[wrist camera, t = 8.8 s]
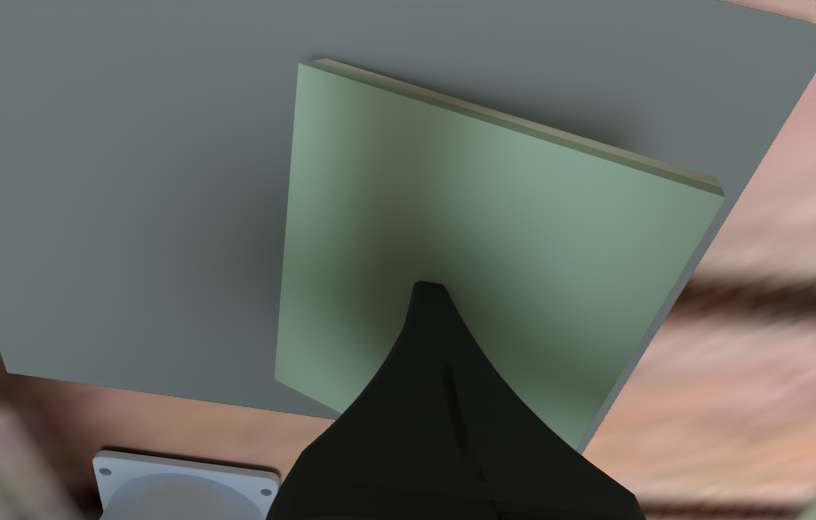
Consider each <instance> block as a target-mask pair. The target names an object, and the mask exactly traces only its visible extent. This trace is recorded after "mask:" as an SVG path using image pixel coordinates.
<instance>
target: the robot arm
mask: <svg viewBox="0 0 816 520" xmlns="http://www.w3.org/2000/svg"><path fill="white" fill-rule="evenodd" d="M93 466H94V471H95V475H96V480H97V484H98V489H99V493H100V497H101V502H102V506H103V511H104V512H103V514H102V516H101V518H100V519H99V520H646V518H645V516H644V514H643V512H642V509H641V507H640V505H639V503H638V501H637V499H636V497H635V495H634V494H633V493H631V492H630V491H629V490H627V489H626V488H625V487H623V486H622V485H620V484H619V483H618V482H616V481H615V480H614V479H612V478H611V477H609V476H608V475H607V474H605V473H604V472H603V471H601V470H600V469H598V468H597V467H596V466H594V465H593V464H592V463H590V462H589V461H588V460H587V459H585V458H584V457H583V456H582V455H581V454H579V453H578V452H577V451H576V450H575V449H573V448H572V447H571V446H570V445H568V444H567V443H566V442H565V441H564V440H563V439H561V438H560V437H559V436H558V435H557V434H556V433H555V432H554V431H553V430H551V429H550V428H549V427H548V426H547V425H546V424H545V423H544V422H543V421H542V420H541V419H540V418H539V417H538V416H537V415H536V414H535V413H534V412H533V411H532V410H531V409H530V408H529V407H528V406H527V405H526V404H525V403H524V402H523V401H522V400H521V399H520V398H519V397H518V395H517V394H516V393H515V392H514V391H513V390H512V389H511V387H510V386H509V385H508V384H507V383H506V382H505V380H504V379H503V378H502V377H501V376H500V374H499V373H498V372H497V371H496V369H495V368H494V367H493V365H492V364H491V362H490V361H489V360H488V358H487V357H486V355H485V354H484V353H483V351H482V350H481V348H480V347H479V345H478V344H477V342H476V340H475V339H474V337H473V336H472V334H471V332H470V331H469V329H468V328H467V326H466V324H465V323H464V321H463V319H462V317H461V316H460V314H459V312H458V310H457V308H456V307H455V305H454V303H453V301H452V299H451V297H450V295H449V293H448V291H447V290H446V288H445V287H444V285H442V284H437V283H431V282H425V281H418V282H416V283H414V287H413V291H412V295H411V299H410V303H409V307H408V311H407V315H406V319H405V323H404V326H403V329H402V331H401V333H400V335H399V336H398V338H397V340H396V342H395V344H394V346H393V348H392V349H391V351H390V353H389V354H388V356H387V358H386V359H385V361H384V362H383V364H382V365H381V367H380V368H379V370H378V371H377V373H376V374H375V375H374V377H373V378H372V379H371V381H370V382H369V383H368V385H367V386H366V387H365V389H364V390H363V391H362V392H361V394H360V395H359V396H358V397H357V398H356V400H355V401H354V402H353V403H352V404H351V405H350V406H349V407H348V408H347V409H346V410H345V411H344V413H343V414H342V415H341V416H340V417H339V418H338V419H337V420H336V421H335V422H334V423H333V424H332V425H331V426H330V427H329V428H328V429H327V430H326V431H325V432H324V433H322V434H321V435H320V436H319V437H318V438H317V439H316V440H315V441H313V442H312V443H311V444H310V445H309V446H308V447H307V448H306V449H304V450H303V451H302V453H301V455H300V456H299V458H298V459H297V461H296V463H295V464H294V466H293V467H292V469H291V470H290V472H289V474H288V475H287V477H286V479H285V480H284V482H283V484H282V485H281V487H280V489H279V483H280V479H279V477H278V476H277V475H276V474H275V473H272V472H267V471H260V470H252V469H244V468H237V467H229V466H222V465H214V464H207V463H199V462H192V461H184V460H177V459H169V458H161V457H154V456H146V455H139V454H131V453H124V452H116V451H109V450H103V451H99V452H98V453H97V454H96V455H95V457H94V459H93Z"/></svg>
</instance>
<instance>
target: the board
mask: <svg viewBox="0 0 816 520" xmlns="http://www.w3.org/2000/svg"><path fill="white" fill-rule="evenodd" d="M326 58H327V59H330V60H334V61H337V62H340V63H343V64H347V65H350V66H353V67H356V68H360V69H363V70H366V71H369V72H373V73H376V74H379V75H382V76H386V77H389V78H392V79H395V80H399V81H402V82H405V83H408V84H412V85H415V86H418V87H421V88H425V89H428V90H431V91H434V92H438V93H441V94H444V95H447V96H451V97H454V98H457V99H460V100H464V101H467V102H470V103H473V104H477V105H480V106H483V107H486V108H490V109H493V110H496V111H499V112H503V113H506V114H509V115H512V116H516V117H519V118H522V119H525V120H529V121H532V122H535V123H538V124H542V125H545V126H548V127H551V128H555V129H558V130H561V131H564V132H568V133H571V134H574V135H578V136H581V137H584V138H587V139H591V140H594V141H597V142H600V143H604V144H607V145H610V146H613V147H617V148H620V149H623V150H626V151H630V152H633V153H636V154H639V155H643V156H646V157H649V158H652V159H656V160H659V161H662V162H665V163H669V164H672V165H675V166H678V167H682V168H685V169H688V170H691V171H695V172H698V173H701V174H704V175H708V176H711V177H714V178H717V179H718V181H719V184H720V186H721V188H722V190H723V192H724V195H725V197H726V198H725V200H724V202H723V203H722V205H721V207H720V208H719V210H718V212H717V213H716V215H715V217H714V218H713V220H712V222H711V223H710V225H709V227H708V228H707V230H706V232H705V234H704V235H703V237H702V239H701V240H700V242H699V244H698V245H697V247H696V249H695V250H694V252H693V254H692V255H691V257H690V259H689V260H688V262H687V264H686V265H685V267H684V269H683V270H682V272H681V274H680V275H679V277H678V279H677V280H676V282H675V284H674V286H673V287H672V289H671V291H670V292H669V294H668V296H667V297H666V299H665V301H664V302H663V304H662V306H661V307H660V309H659V311H658V312H657V314H656V316H655V317H654V319H653V321H652V322H651V324H650V326H649V327H648V329H647V331H646V332H645V334H644V336H643V338H642V339H641V341H640V343H639V344H638V346H637V348H636V349H635V351H634V353H633V354H632V356H631V358H630V359H629V361H628V363H627V364H626V366H625V368H624V369H623V371H622V373H621V374H620V376H619V378H618V379H617V381H616V383H615V384H614V386H613V388H612V390H611V391H610V393H609V395H608V396H607V398H606V400H605V401H604V403H603V405H602V406H601V408H600V410H599V411H598V413H597V415H596V416H595V418H594V420H593V421H592V423H591V425H590V426H589V428H588V430H587V431H586V433H585V435H584V436H583V438H582V440H581V442H580V443H579V445H578V447H577V448H576V451H577V452H578V453H579V454H581V455H582V453H583V452H584V450H585V449H586V447H587V445H588V444H589V442H590V440H591V439H592V437H593V436H594V434H595V432H596V431H597V429H598V427H599V426H600V424H601V422H602V421H603V419H604V418H605V416H606V414H607V413H608V411H609V409H610V408H611V406H612V404H613V403H614V401H615V400H616V398H617V396H618V395H619V393H620V391H621V390H622V388H623V386H624V385H625V383H626V382H627V380H628V378H629V377H630V375H631V373H632V372H633V370H634V368H635V367H636V365H637V364H638V362H639V360H640V359H641V357H642V355H643V354H644V352H645V351H646V349H647V347H648V346H649V344H650V342H651V341H652V339H653V337H654V336H655V334H656V333H657V331H658V329H659V328H660V326H661V324H662V323H663V321H664V319H665V318H666V316H667V315H668V313H669V311H670V310H671V308H672V306H673V305H674V303H675V301H676V300H677V298H678V297H679V295H680V293H681V292H682V290H683V288H684V287H685V285H686V283H687V282H688V280H689V279H690V277H691V275H692V274H693V272H694V270H695V269H696V267H697V266H698V264H699V262H700V261H701V259H702V257H703V256H704V254H705V252H706V251H707V249H708V248H709V246H710V244H711V243H712V241H713V239H714V238H715V236H716V234H717V233H718V231H719V230H720V228H721V226H722V225H723V223H724V221H725V220H726V218H727V216H728V215H729V213H730V212H731V210H732V208H733V207H734V205H735V203H736V202H737V200H738V198H739V197H740V195H741V194H742V192H743V190H744V189H745V187H746V185H747V184H748V182H749V181H750V179H751V177H752V176H753V174H754V172H755V171H756V169H757V167H758V166H759V164H760V163H761V161H762V159H763V158H764V156H765V154H766V153H767V151H768V149H769V148H770V146H771V145H772V143H773V141H774V140H775V138H776V136H777V135H778V133H779V131H780V130H781V128H782V127H783V125H784V123H785V122H786V120H787V118H788V117H789V115H790V113H791V112H792V110H793V109H794V107H795V105H796V104H797V102H798V100H799V99H800V97H801V96H802V94H803V92H804V91H805V89H806V87H807V86H808V84H809V82H810V81H811V79H812V78H813V76H814V74H815V73H816V24H814V23H810V22H805V21H801V20H797V19H793V18H789V17H785V16H781V15H776V14H772V13H768V12H764V11H760V10H756V9H752V8H747V7H743V6H739V5H735V4H731V3H727V2H723V1H718V0H0V352H1V355H2V358H3V361H4V364H5V367H6V370H7V373H14V374H21V375H28V376H35V377H42V378H49V379H56V380H63V381H70V382H77V383H84V384H90V385H97V386H104V387H111V388H118V389H125V390H132V391H139V392H146V393H153V394H160V395H167V396H174V397H181V398H188V399H195V400H202V401H209V402H215V403H222V404H229V405H236V406H243V407H250V408H257V409H264V410H271V411H278V412H285V413H292V414H299V415H306V416H313V417H320V418H327V419H334V420H337V419H338V418H339V417H340V416H341V415H342V413H340V412H338V411H336V410H334V409H332V408H330V407H328V406H326V405H324V404H322V403H320V402H318V401H316V400H314V399H312V398H310V397H308V396H306V395H304V394H302V393H300V392H298V391H296V390H294V389H292V388H290V387H288V386H286V385H284V384H282V383H280V382H278V381H276V380H274V376H275V363H276V350H277V337H278V324H279V310H280V297H281V284H282V271H283V258H284V245H285V232H286V219H287V206H288V193H289V180H290V167H291V154H292V141H293V128H294V115H295V102H296V89H297V76H298V63H302V62H308V61H314V60H320V59H326Z"/></svg>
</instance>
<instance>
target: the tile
mask: <svg viewBox="0 0 816 520" xmlns="http://www.w3.org/2000/svg"><path fill="white" fill-rule="evenodd" d="M725 198H726V197H725V195H724V192H723V190H722V188H721V186H720V184H719V181H718V179H717V178H714V177H711V176H708V175H704V174H701V173H698V172H695V171H691V170H688V169H685V168H682V167H678V166H675V165H672V164H669V163H665V162H662V161H659V160H656V159H652V158H649V157H646V156H643V155H639V154H636V153H633V152H630V151H626V150H623V149H620V148H617V147H613V146H610V145H607V144H604V143H600V142H597V141H594V140H591V139H587V138H584V137H581V136H578V135H574V134H571V133H568V132H564V131H561V130H558V129H555V128H551V127H548V126H545V125H542V124H538V123H535V122H532V121H529V120H525V119H522V118H519V117H516V116H512V115H509V114H506V113H503V112H499V111H496V110H493V109H490V108H486V107H483V106H480V105H477V104H473V103H470V102H467V101H464V100H460V99H457V98H454V97H451V96H447V95H444V94H441V93H438V92H434V91H431V90H428V89H425V88H421V87H418V86H415V85H412V84H408V83H405V82H402V81H399V80H395V79H392V78H389V77H386V76H382V75H379V74H376V73H373V72H369V71H366V70H363V69H360V68H356V67H353V66H350V65H347V64H343V63H340V62H337V61H334V60H330V59H327V58H326V59H320V60H314V61H308V62H302V63H298V76H297V89H296V102H295V115H294V128H293V141H292V154H291V167H290V180H289V193H288V206H287V219H286V232H285V245H284V258H283V271H282V284H281V297H280V310H279V324H278V337H277V350H276V363H275V376H274V380H276V381H278V382H280V383H282V384H284V385H286V386H288V387H290V388H292V389H294V390H296V391H298V392H300V393H302V394H304V395H306V396H308V397H310V398H312V399H314V400H316V401H318V402H320V403H322V404H324V405H326V406H328V407H330V408H332V409H334V410H336V411H338V412H340V413H342V414H343V413H344V411H345V410H346V409H347V408H348V407H349V406H350V405H351V404H352V403H353V402H354V401H355V400H356V398H357V397H358V396H359V395H360V394H361V392H362V391H363V390H364V389H365V387H366V386H367V385H368V383H369V382H370V381H371V379H372V378H373V377H374V375H375V374H376V373H377V371H378V370H379V368H380V367H381V365H382V364H383V362H384V361H385V359H386V358H387V356H388V354H389V353H390V351H391V349H392V348H393V346H394V344H395V342H396V340H397V338H398V336H399V335H400V333H401V331H402V329H403V326H404V323H405V319H406V315H407V311H408V307H409V303H410V299H411V295H412V291H413V287H414V283H416V282H418V281H425V282H431V283H437V284H442V285H444V287H445V288H446V290H447V291H448V293H449V295H450V297H451V299H452V301H453V303H454V305H455V307H456V308H457V310H458V312H459V314H460V316H461V317H462V319H463V321H464V323H465V324H466V326H467V328H468V329H469V331H470V332H471V334H472V336H473V337H474V339H475V340H476V342H477V344H478V345H479V347H480V348H481V350H482V351H483V353H484V354H485V355H486V357H487V358H488V360H489V361H490V362H491V364H492V365H493V367H494V368H495V369H496V371H497V372H498V373H499V374H500V376H501V377H502V378H503V379H504V380H505V382H506V383H507V384H508V385H509V386H510V387H511V389H512V390H513V391H514V392H515V393H516V394H517V395H518V397H519V398H520V399H521V400H522V401H523V402H524V403H525V404H526V405H527V406H528V407H529V408H530V409H531V410H532V411H533V412H534V413H535V414H536V415H537V416H538V417H539V418H540V419H541V420H542V421H543V422H544V423H545V424H546V425H547V426H548V427H549V428H550V429H551V430H553V431H554V432H555V433H556V434H557V435H558V436H559V437H560V438H561V439H563V440H564V441H565V442H566V443H567V444H568V445H570V446H571V447H572V448H573V449H575V450H576V448H577V447H578V445H579V443H580V442H581V440H582V438H583V436H584V435H585V433H586V431H587V430H588V428H589V426H590V425H591V423H592V421H593V420H594V418H595V416H596V415H597V413H598V411H599V410H600V408H601V406H602V405H603V403H604V401H605V400H606V398H607V396H608V395H609V393H610V391H611V390H612V388H613V386H614V384H615V383H616V381H617V379H618V378H619V376H620V374H621V373H622V371H623V369H624V368H625V366H626V364H627V363H628V361H629V359H630V358H631V356H632V354H633V353H634V351H635V349H636V348H637V346H638V344H639V343H640V341H641V339H642V338H643V336H644V334H645V332H646V331H647V329H648V327H649V326H650V324H651V322H652V321H653V319H654V317H655V316H656V314H657V312H658V311H659V309H660V307H661V306H662V304H663V302H664V301H665V299H666V297H667V296H668V294H669V292H670V291H671V289H672V287H673V286H674V284H675V282H676V280H677V279H678V277H679V275H680V274H681V272H682V270H683V269H684V267H685V265H686V264H687V262H688V260H689V259H690V257H691V255H692V254H693V252H694V250H695V249H696V247H697V245H698V244H699V242H700V240H701V239H702V237H703V235H704V234H705V232H706V230H707V228H708V227H709V225H710V223H711V222H712V220H713V218H714V217H715V215H716V213H717V212H718V210H719V208H720V207H721V205H722V203H723V202H724V200H725Z"/></svg>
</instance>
